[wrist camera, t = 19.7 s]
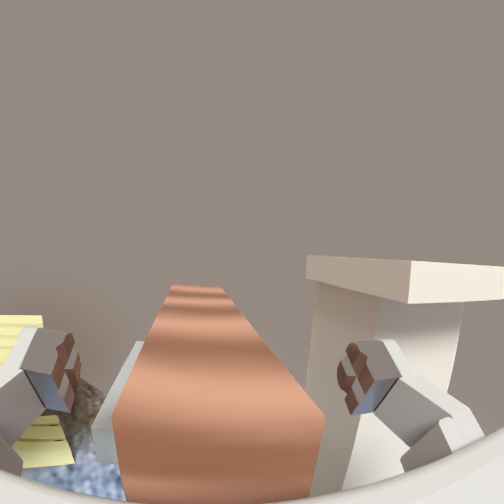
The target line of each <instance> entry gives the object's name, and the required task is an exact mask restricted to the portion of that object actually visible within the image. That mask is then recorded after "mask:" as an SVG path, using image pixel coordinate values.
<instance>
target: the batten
mask: <svg viewBox="0 0 504 504" xmlns="http://www.w3.org/2000/svg"><path fill="white" fill-rule="evenodd" d="M111 418H112V425H113V432H114V439H115V446H116V452H117V458H118V463H119V468H120V474H121V479H122V483H123V488H124V493H125V497H126V501H127V502H135V503H144V504H265V503H274V502H282V501H289V500H296V499H303V498H308V497H309V493H310V489H311V485H312V481H313V476H314V472H315V467H316V463H317V458H318V453H319V448H320V443H321V438H322V433H323V427H324V422H325V414H324V413H323V412H322V411H321V410H320V409H319V407H318V406H317V405H316V404H315V403H314V402H313V400H312V399H311V398H310V397H309V396H308V395H307V393H306V392H305V391H304V390H303V389H302V388H301V386H300V385H299V384H298V383H297V381H296V380H295V379H294V378H293V377H292V375H291V374H290V373H289V372H288V371H287V369H286V368H285V367H284V366H283V365H282V363H281V362H280V361H279V360H278V358H277V357H276V356H275V355H274V354H273V352H272V351H271V350H270V349H269V347H268V346H267V345H266V344H265V342H264V341H263V340H262V339H261V337H260V336H259V335H258V334H257V332H256V331H255V330H254V329H253V327H252V326H251V325H250V324H249V322H248V321H247V320H246V319H245V317H244V316H243V315H242V313H241V312H240V311H239V310H238V309H237V307H236V306H235V304H234V303H233V302H232V301H231V299H230V298H229V297H228V295H227V294H226V293H225V291H224V290H223V289H222V288H221V287H210V286H191V285H175V284H173V285H172V287H171V289H170V291H169V293H168V295H167V297H166V299H165V301H164V303H163V305H162V307H161V309H160V311H159V313H158V315H157V317H156V320H155V321H154V323H153V325H152V327H151V330H150V332H149V334H148V336H147V338H146V340H145V342H144V344H143V346H142V348H141V351H140V353H139V355H138V357H137V359H136V361H135V363H134V366H133V368H132V370H131V372H130V374H129V377H128V379H127V381H126V383H125V385H124V388H123V390H122V392H121V394H120V397H119V399H118V401H117V404H116V406H115V408H114V410H113V413H112V415H111Z"/></svg>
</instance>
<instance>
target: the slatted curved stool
mask: <svg viewBox="0 0 504 504" xmlns="http://www.w3.org/2000/svg"><path fill="white" fill-rule="evenodd" d="M26 325H30V326H35V327H41V328H43V321H42V316H27V315H0V365H5V363H6V361H7V359H8V356H9V354H10V352H11V350H12V348H13V346H14V344H15V342H16V340H17V338H18V336H19V334H20V332H21V330H22V328H23V327H24V326H26ZM11 448H12V449H13V450H14V451H15V452H16V453H17V454H18V455H19V456H20V457H21V458H22V460H23V467H22V468H31V467H44V466H55V465H64V464H73V463H75V462H74V459H73V456H72V453H71V449H70V447H69V445H68V442H67V440H66V437H65V435H64V432H63V429H62V427H61V425H60V421H59V419H58V416H57V415H50V416H39V417H38V418H37V420H36V421H35V422H34V423H33V424H32V425H31V426H30V427H29V428H28V429H27V430H26V431H25V433H24V434H23V435H22V436H21V437H20V438H19V439H18V440H17V441H16V442H15V443H14V445H13V446H12V447H11Z"/></svg>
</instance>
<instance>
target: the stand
mask: <svg viewBox="0 0 504 504" xmlns="http://www.w3.org/2000/svg"><path fill="white" fill-rule="evenodd" d="M306 278H307V279H311V280H315V281H316V292H315V303H314V314H313V325H312V335H311V345H310V354H309V363H308V372H307V380H306V387H305V392H306V393H307V395H308V396H309V397H310V398H311V399H312V400H313V402H314V403H315V404H316V405H317V406H318V407H319V409H320V410H321V411H322V412H323V413H324V414H325V422H324V427H323V433H322V438H321V443H320V448H319V453H318V458H317V463H316V467H315V472H314V476H313V481H312V485H311V489H310V493H309V497H314V496H319V495H324V494H329V493H334V492H339V491H343V490H347V489H351V488H355V487H359V486H363V485H366V484H370V483H373V482H377V481H380V480H383V479H387V478H390V477H393V476H396V475H399V474H402V473H405V472H404V469H403V467H402V464H401V461H400V458H401V457H402V455H403V454H405V453H406V452H407V451H408V450H409V449H410V447H409V446H407V445H406V444H405V443H404V442H403V441H402V440H401V439H400V438H399V437H398V436H397V435H396V434H394V433H393V432H392V431H391V430H390V429H389V428H388V427H387V426H386V425H385V424H384V423H383V422H382V421H381V420H379V419H378V418H377V417H376V416H375V415H374V414H373V413H374V412H372V413H366V414H360V415H353V416H351V415H350V413H349V410H348V408H347V405H346V402H345V400H344V399H345V396H346V392H344V391H343V390H342V389H341V388H340V387H339V384H338V381H337V367H338V365H339V363H340V360H342V359H343V358H344V357H346V356H347V353H346V351H345V350H346V348H347V346H348V345H349V344H350V343H351V342H360V341H372V340H384V339H393V340H395V341H396V343H397V344H398V346H399V348H400V349H401V351H402V353H403V354H404V356H405V358H406V359H407V361H408V363H409V364H410V366H411V368H412V370H413V371H414V373H415V375H418V374H419V375H421V376H422V377H424V378H425V379H427V380H428V381H430V382H431V383H433V384H434V385H436V386H437V387H439V388H440V389H441V390H443V391H444V392H446V393H447V390H448V385H449V382H450V377H451V373H452V369H453V364H454V359H455V354H456V349H457V344H458V338H459V332H460V325H461V318H462V311H463V302H464V301H480V300H495V299H504V267H498V266H483V265H468V264H452V263H436V262H423V261H407V260H389V259H371V258H355V257H338V256H337V257H336V256H320V255H307V269H306ZM143 344H144V341H137V342H136V343H135V345H134V347H133V349H132V351H131V352H130V354H129V356H128V358H127V360H126V362H125V364H124V366H123V367H122V369H121V371H120V373H119V374H118V377H117V379H116V380H115V382H114V384H113V386H112V388H111V389H110V392H109V393H108V395H107V397H106V399H105V401H104V403H103V405H102V407H101V409H100V410H99V412H98V414H97V416H96V418H95V420H94V422H93V424H92V426H91V431H92V437H93V442H94V447H95V452H96V457H97V461H99V462H105V463H112V464H119V463H118V458H117V452H116V446H115V439H114V432H113V425H112V418H111V415H112V413H113V410H114V408H115V406H116V404H117V401H118V399H119V397H120V394H121V392H122V390H123V388H124V385H125V383H126V381H127V379H128V377H129V374H130V372H131V370H132V368H133V366H134V363H135V361H136V359H137V357H138V355H139V353H140V351H141V348H142V346H143Z"/></svg>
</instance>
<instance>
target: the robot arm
mask: <svg viewBox="0 0 504 504" xmlns="http://www.w3.org/2000/svg"><path fill="white" fill-rule="evenodd" d="M74 342H75V341H74V338H73V336H72V334H71V333H69V332H63V331H58V330H51V329H47V328H41V327H35V326H30V325H26V326H24V327H23V328H22V330H21V332H20V334H19V336H18V338H17V340H16V342H15V344H14V346H13V348H12V350H11V352H10V354H9V356H8V359H7V361H6V363H5V365H0V504H144V503H135V502H127V501H120V500H113V499H107V498H101V497H96V496H91V495H86V494H81V493H77V492H72V491H68V490H64V489H60V488H57V487H53V486H49V485H46V484H42V483H39V482H36V481H33V480H29V479H26V478H23V477H21V472H22V467H23V460H22V458H21V457H20V456H19V455H18V454H17V453H16V452H15V451H14V450H13V449H12V448H11V447H12V446H13V445H14V443H15V442H16V441H17V440H18V439H19V438H20V437H21V436H22V435H23V434H24V433H25V431H26V430H27V429H28V428H29V427H30V426H31V425H32V424H33V423H34V422H35V421H36V420H37V418H38V417H39V416H40V415H41V414H42V413H43V412H44V411H45V408H47V409H52V410H57V411H63V412H69V413H71V408H72V404H73V400H74V396H75V394H74V391H73V389H72V387H73V386H75V385H76V384H77V383H78V381H79V377H80V368H81V363H80V357H79V354H78V352H77V351H76V350H75V349H74V348H73V345H74ZM345 351H346V353H347V356H346V357H344V358H343V359H342V360H340V363H339V365H338V367H337V381H338V384H339V387H340V388H341V389H342V390H343V391H344V392H346V396H345V399H344V400H345V402H346V405H347V408H348V410H349V413H350V415H351V416H353V415H360V414H366V413H372V412H374V413H373V414H374V415H375V416H376V417H377V418H378V419H379V420H381V421H382V422H383V423H384V424H385V425H386V426H387V427H388V428H389V429H390V430H391V431H392V432H393V433H394V434H396V435H397V436H398V437H399V438H400V439H401V440H402V441H403V442H404V443H405V444H406V445H407V446H409V447H410V449H409V450H408V451H407V452H406V453H405V454H403V455H402V457H401V458H400V461H401V464H402V467H403V469H404V472H405V473H402V474H399V475H396V476H393V477H390V478H387V479H383V480H380V481H377V482H373V483H370V484H366V485H363V486H359V487H355V488H351V489H347V490H343V491H339V492H334V493H329V494H324V495H319V496H314V497H308V498H303V499H296V500H289V501H282V502H274V503H265V504H504V427H503V428H501V429H499V430H497V431H496V432H494V433H492V434H490V435H488V436H487V437H485V435H484V434H483V432H482V430H481V428H480V426H479V425H478V423H477V421H476V419H475V417H474V416H473V414H472V412H471V411H470V409H469V408H468V407H467V406H465V405H464V404H462V403H461V402H459V401H458V400H456V399H455V398H453V397H452V396H450V395H449V394H447V393H446V392H444V391H443V390H441V389H440V388H439V387H437V386H436V385H434V384H433V383H431V382H430V381H428V380H427V379H425V378H424V377H422V376H421V375H419V374H418V375H415V373H414V371H413V370H412V368H411V366H410V364H409V363H408V361H407V359H406V358H405V356H404V354H403V353H402V351H401V349H400V348H399V346H398V344H397V343H396V341H395V340H393V339H384V340H372V341H360V342H351V343H350V344H349V345H348V346H347V348H346V350H345Z"/></svg>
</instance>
